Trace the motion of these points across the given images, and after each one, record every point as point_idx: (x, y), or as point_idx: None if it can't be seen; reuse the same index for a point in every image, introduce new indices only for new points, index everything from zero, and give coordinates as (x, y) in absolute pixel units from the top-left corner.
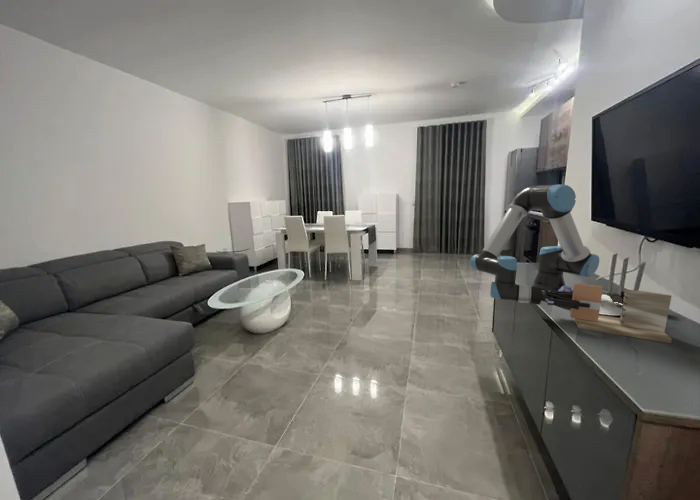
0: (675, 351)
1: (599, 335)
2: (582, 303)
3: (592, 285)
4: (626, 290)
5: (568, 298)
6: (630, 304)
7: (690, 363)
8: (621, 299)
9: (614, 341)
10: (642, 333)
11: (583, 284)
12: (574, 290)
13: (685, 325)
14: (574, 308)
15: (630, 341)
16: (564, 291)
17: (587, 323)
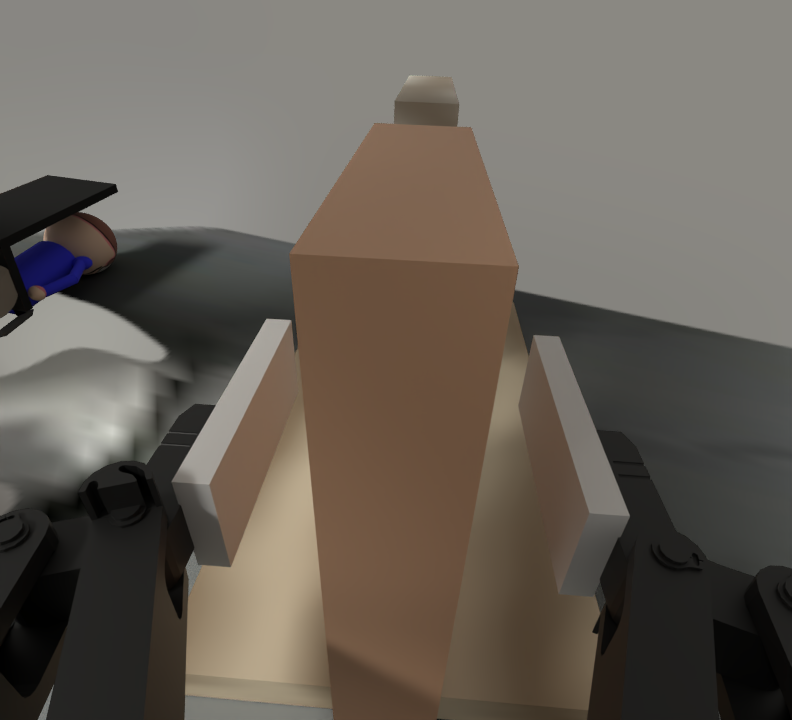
0: (606, 334)
1: None
2: (655, 508)
3: (392, 147)
4: (439, 103)
5: (177, 662)
6: None
7: (708, 335)
8: (4, 274)
9: (709, 510)
10: (510, 356)
11: (373, 183)
12: (474, 439)
13: (267, 248)
14: (782, 698)
15: None
16: None
17: (515, 602)
